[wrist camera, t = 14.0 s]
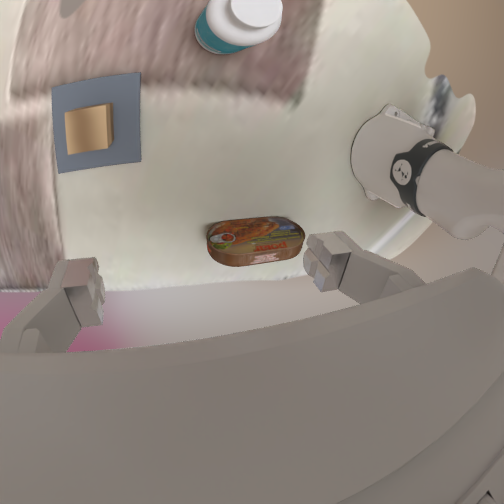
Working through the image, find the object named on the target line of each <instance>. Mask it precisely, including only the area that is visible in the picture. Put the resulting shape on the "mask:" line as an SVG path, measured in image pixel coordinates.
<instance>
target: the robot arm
mask: <svg viewBox="0 0 504 504" xmlns="http://www.w3.org/2000/svg"><path fill="white" fill-rule="evenodd" d="M394 113H395V114H394ZM434 132H435V130H434V129H433V128H431V127H429V126H426V125H422V124H421V123H419V122H418V121H416V120H415V119H413V118H412V117H411V116H409V115H408V114H406V113H405V112H403V111H402V110H400V109H398V108H397V107H395V106H393V105H391V104H388V105H386V106H385V107H384V108H383V110H382V111H381V112H380V114H378V115H377V116H375V117H373V118H372V119H370V120H369V121H367V122H366V123H365V124H364V125H363V126H362V128H361V129H360V130H359V132H358V134H357V136H356V138H355V140H354V143H353V147H352V153H351V164H352V169H353V172H354V175H355V177H356V178H357V180H358V181H359V182H360V183H361V184H362V186H363V187H364V190H365V194H366V196H367V198H368V199H370V200H376V199H380V198H381V199H382V200H384V201H386V202H388V203H389V204H391V205H393V206H394V207H396V208H400V207H405V206H407V207H409V208H410V209H411V210H412V211H413V212H415V213H417V214H419V215H421V216H424V217H428V218H429V219H430V220H432V221H433V222H435V223H436V224H437V225H438V226H440V227H441V228H443V229H444V230H445V231H446V232H448V233H449V234H450V235H451V236H453V237H454V238H457V239H461V240H469V239H472V238H475V237H477V236H479V235H480V234H481V233H483V232H484V231H485V230H486V229H487V228H488V227H489V226H491V227H494V228H496V229H498V230H499V231H501V232H502V233H503V234H504V170H503V169H502V170H501V169H493V168H489V167H486V166H483V165H481V164H478V163H476V162H474V161H472V160H469V159H467V158H465V157H463V156H461V155H459V154H456V153H454V152H453V150H452V149H451V148H449V147H448V146H446V145H445V144H443V143H441V142H438V141H437V140H436V139H434V138H433V135H434ZM306 244H307V246H308V249H307V250H306V251H305V253H304V257H303V264H304V268H305V271H306V272H307V274H308V275H310V276H312V277H314V281H313V282H314V283H315V285H316V286H317V287H318V289H319V290H320V291H321V292H325V291H330V290H336V289H339V291H341V292H342V293H344V294H346V295H347V296H349V297H350V298H352V299H353V300H355V301H356V302H358V303H360V305H356V306H353V307H349V308H345V309H341V310H338V311H333V312H330V313H326V314H322V315H317V316H313V317H310V318H305V319H300V320H296V321H292V322H287V323H283V324H278V325H273V326H269V327H264V328H259V329H254V330H248V331H243V332H238V333H233V334H227V335H221V336H215V337H210V338H203V339H196V340H190V341H183V342H176V343H168V344H161V345H152V346H143V347H133V348H124V349H113V350H99V351H83V352H66V351H67V350H68V348H69V347H70V345H71V344H72V342H73V340H74V339H75V337H76V336H77V334H78V333H79V331H80V330H81V327H89V326H98V325H102V323H103V312H104V311H103V308H102V305H103V303H104V302H105V288H104V283H103V279H102V277H101V276H100V275H99V274H98V270H99V265H98V262H97V259H96V258H95V257H91V258H81V259H71V260H62V261H58V262H57V264H56V266H55V269H54V271H53V274H52V277H51V280H50V282H49V285H48V288H47V290H43V291H42V292H41V293H40V294H39V295H38V296H37V297H36V298H34V300H32V302H30V303H29V304H28V305H27V306H26V307H25V308H24V309H23V310H22V311H21V312H20V313H19V314H18V315H17V316H16V317H15V318H14V319H13V320H12V321H11V322H10V323H9V324H8V325H7V326H6V327H5V328H4V330H3V333H2V336H1V339H0V504H504V244H503V247H502V249H501V252H500V254H499V257H498V259H497V261H496V264H495V266H494V268H493V271H492V273H491V275H490V274H488V273H486V272H484V271H482V270H480V269H477V268H469V269H466V270H463V271H461V272H458V273H456V274H453V275H450V276H448V277H445V278H442V279H439V280H436V281H434V282H430V283H427V284H426V283H425V282H424V281H423V280H422V279H421V278H420V277H419V276H418V275H417V274H416V273H415V272H414V271H413V270H411V269H409V268H406V267H404V266H402V265H400V264H397V263H395V262H393V261H390V260H388V259H386V258H383V257H381V256H379V255H376V254H374V253H372V252H369V251H367V250H364V251H363V250H362V249H361V248H360V247H359V246H358V245H357V244H356V243H355V242H354V241H353V240H352V239H351V238H350V237H349V236H348V235H347V234H346V233H344V232H343V231H334V232H328V233H319V234H311V235H309V237H308V239H307V243H306Z"/></svg>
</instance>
